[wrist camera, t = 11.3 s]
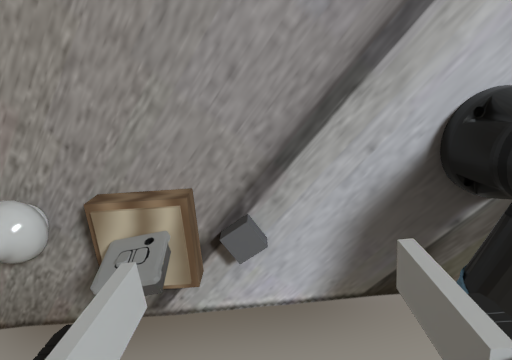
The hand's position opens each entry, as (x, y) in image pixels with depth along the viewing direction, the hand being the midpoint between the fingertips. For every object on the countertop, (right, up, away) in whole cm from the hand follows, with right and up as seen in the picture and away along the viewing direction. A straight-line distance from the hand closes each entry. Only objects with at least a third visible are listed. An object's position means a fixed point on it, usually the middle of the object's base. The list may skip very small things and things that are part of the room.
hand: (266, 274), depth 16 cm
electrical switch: (-16, -5, +28) cm, 33 cm away
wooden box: (-16, -4, +32) cm, 37 cm away
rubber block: (-2, -4, +33) cm, 33 cm away
